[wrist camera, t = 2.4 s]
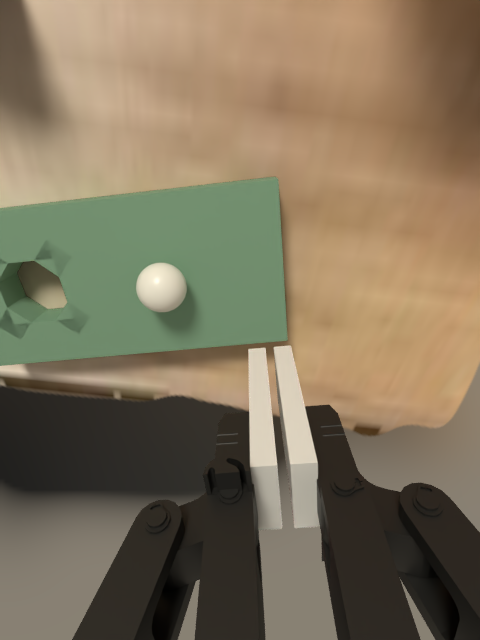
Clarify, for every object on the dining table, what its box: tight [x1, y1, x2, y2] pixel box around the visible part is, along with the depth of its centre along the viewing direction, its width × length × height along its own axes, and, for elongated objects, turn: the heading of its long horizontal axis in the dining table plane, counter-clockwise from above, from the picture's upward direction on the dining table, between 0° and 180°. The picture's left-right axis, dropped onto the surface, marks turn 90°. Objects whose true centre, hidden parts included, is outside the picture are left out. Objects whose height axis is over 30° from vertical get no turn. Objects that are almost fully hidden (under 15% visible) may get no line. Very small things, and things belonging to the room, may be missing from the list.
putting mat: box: [0, 177, 288, 366], centre depth 32 cm, size 28×14×3 cm, turn 96°
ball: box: [136, 263, 187, 312], centre depth 29 cm, size 4×4×4 cm
